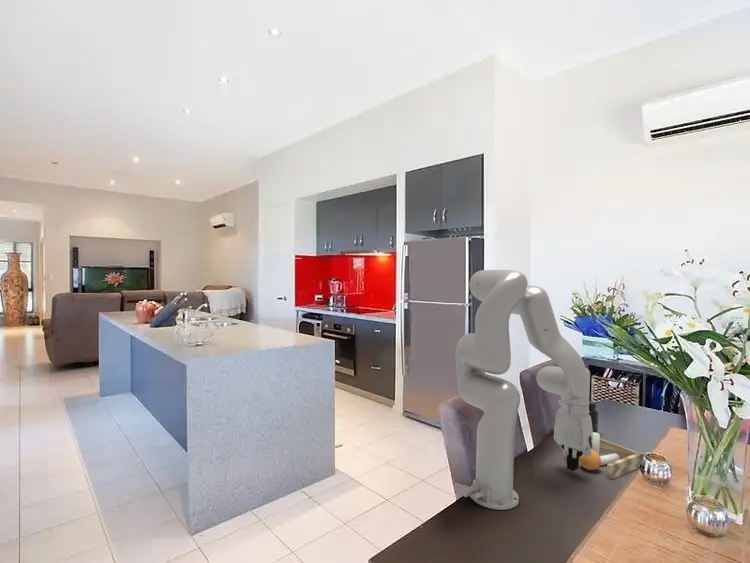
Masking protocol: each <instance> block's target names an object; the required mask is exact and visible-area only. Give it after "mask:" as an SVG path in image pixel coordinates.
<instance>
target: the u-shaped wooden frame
mask: <svg viewBox="0 0 750 563" xmlns="http://www.w3.org/2000/svg"><path fill="white" fill-rule="evenodd" d="M599 453H602V454H605V455H609V454H614V453H616V454H618V455H619V457H620V460H617V461H615V462H612V463H610V464H606V465H607V466H606V478H607V479H608V480H613V479H616V478H618V477H621V476H623V475H626V474H628V473H631V472H632V471H635V470H637V469H640V468H639V465H640V462H641V461H642V459H643V457H644V456H645V454H644V452H639V451H637V450H634V449H631V448H628V447H625V446H622V445H619V444H617V443H614V442H611V441H609V440H606V439H602V438H601V437H600V449H599ZM563 459H564V460H567V455H566V454H565V451H564V450H563ZM643 460H644V459H643Z"/></svg>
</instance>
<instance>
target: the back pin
mask: <svg viewBox="0 0 750 563" xmlns="http://www.w3.org/2000/svg"><path fill="white" fill-rule="evenodd" d="M600 438H601V434H600V433H599V432H598V433H596V432H593V446H592V448H591V450H594V451H595V452H597V453H598V455H599V456H600V451H599V449H600Z"/></svg>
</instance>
